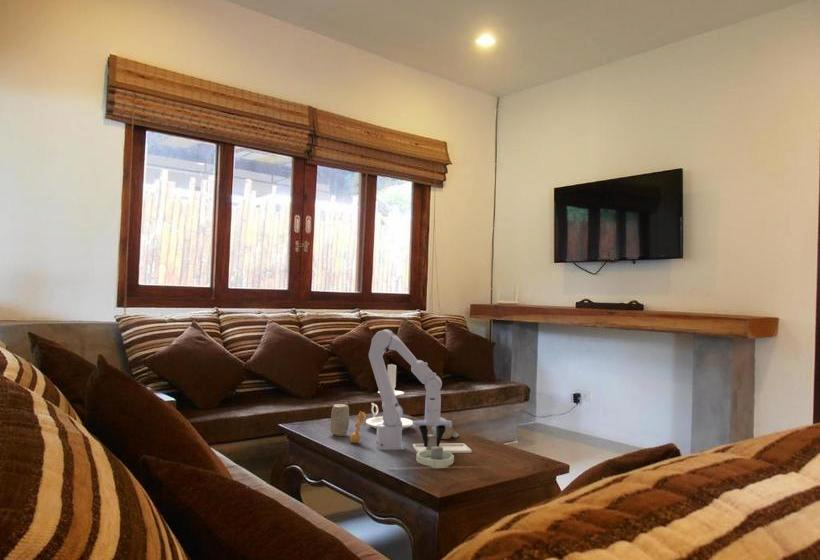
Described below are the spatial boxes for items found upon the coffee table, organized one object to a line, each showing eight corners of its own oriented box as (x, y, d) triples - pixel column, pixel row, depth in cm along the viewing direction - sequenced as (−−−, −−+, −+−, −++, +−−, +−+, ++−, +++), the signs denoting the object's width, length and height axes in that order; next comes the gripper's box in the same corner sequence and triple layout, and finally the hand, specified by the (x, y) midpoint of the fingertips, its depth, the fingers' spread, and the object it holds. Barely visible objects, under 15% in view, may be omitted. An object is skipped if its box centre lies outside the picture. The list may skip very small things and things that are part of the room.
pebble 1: (427, 451, 209) (427, 437, 209) (424, 448, 213) (425, 434, 213) (437, 450, 210) (438, 437, 210) (435, 447, 214) (435, 434, 214)
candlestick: (389, 419, 260) (392, 358, 261) (423, 431, 241) (426, 365, 241) (351, 424, 248) (353, 360, 249) (383, 437, 228) (386, 367, 229)
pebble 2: (431, 464, 193) (432, 449, 193) (429, 460, 197) (430, 446, 197) (443, 464, 193) (443, 449, 193) (441, 460, 197) (441, 446, 197)
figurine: (345, 441, 221) (346, 409, 221) (358, 439, 224) (360, 408, 224) (355, 446, 214) (357, 414, 214) (369, 444, 217) (371, 412, 218)
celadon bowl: (420, 468, 190) (421, 460, 190) (413, 457, 202) (413, 450, 202) (457, 467, 192) (457, 459, 192) (447, 456, 204) (448, 449, 205)
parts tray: (418, 455, 205) (418, 451, 205) (412, 447, 215) (412, 443, 215) (471, 454, 209) (471, 450, 209) (463, 446, 219) (463, 443, 219)
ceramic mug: (437, 441, 226) (438, 421, 226) (430, 435, 234) (431, 416, 234) (461, 440, 230) (463, 421, 230) (454, 435, 237) (455, 416, 238)
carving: (350, 436, 228) (352, 406, 229) (332, 437, 225) (333, 407, 225) (345, 432, 234) (347, 403, 234) (328, 433, 231) (329, 403, 231)
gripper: (415, 411, 206) (414, 449, 206) (454, 411, 209) (453, 448, 209) (412, 407, 213) (410, 444, 213) (449, 407, 216) (448, 443, 216)
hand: (431, 446), depth 211 cm, fingers closed on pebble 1, 4 cm apart
